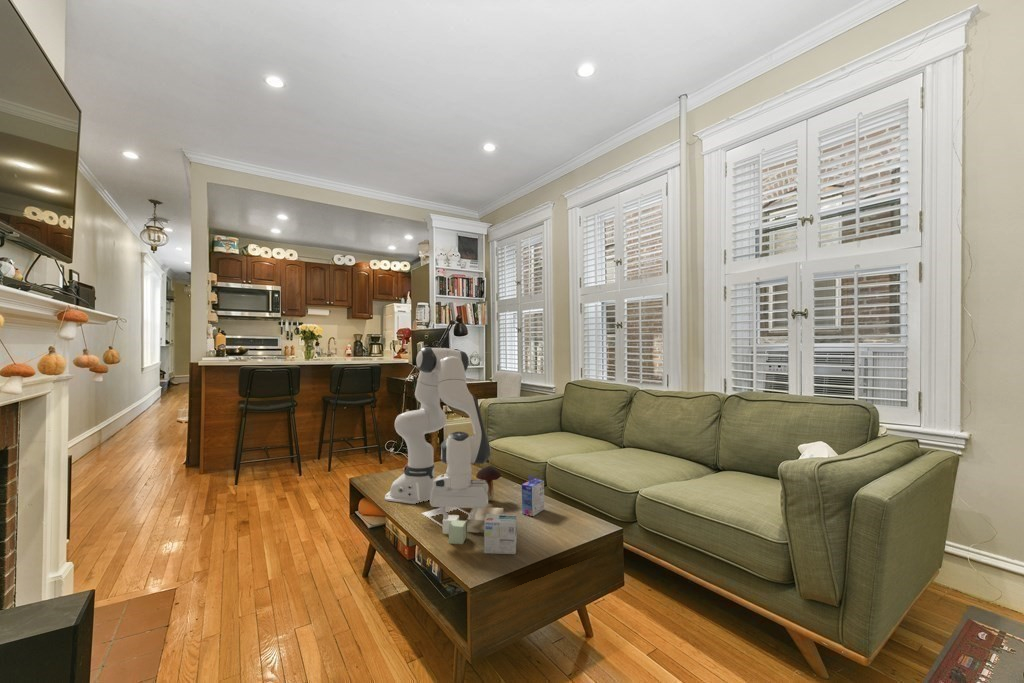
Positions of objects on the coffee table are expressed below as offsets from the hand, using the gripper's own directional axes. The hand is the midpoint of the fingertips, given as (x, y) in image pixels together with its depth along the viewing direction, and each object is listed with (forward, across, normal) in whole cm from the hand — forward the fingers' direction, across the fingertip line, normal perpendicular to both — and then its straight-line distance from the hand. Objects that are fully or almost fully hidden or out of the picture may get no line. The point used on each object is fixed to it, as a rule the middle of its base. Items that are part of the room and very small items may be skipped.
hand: (459, 519), depth 151 cm
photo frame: (+8, +8, -20) cm, 23 cm away
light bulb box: (+8, -15, +5) cm, 18 cm away
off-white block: (+7, +5, -7) cm, 11 cm away
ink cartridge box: (+8, -25, -29) cm, 39 cm away
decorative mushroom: (+7, -5, -39) cm, 40 cm away
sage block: (+7, +1, 0) cm, 7 cm away
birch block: (+8, -7, -13) cm, 17 cm away
